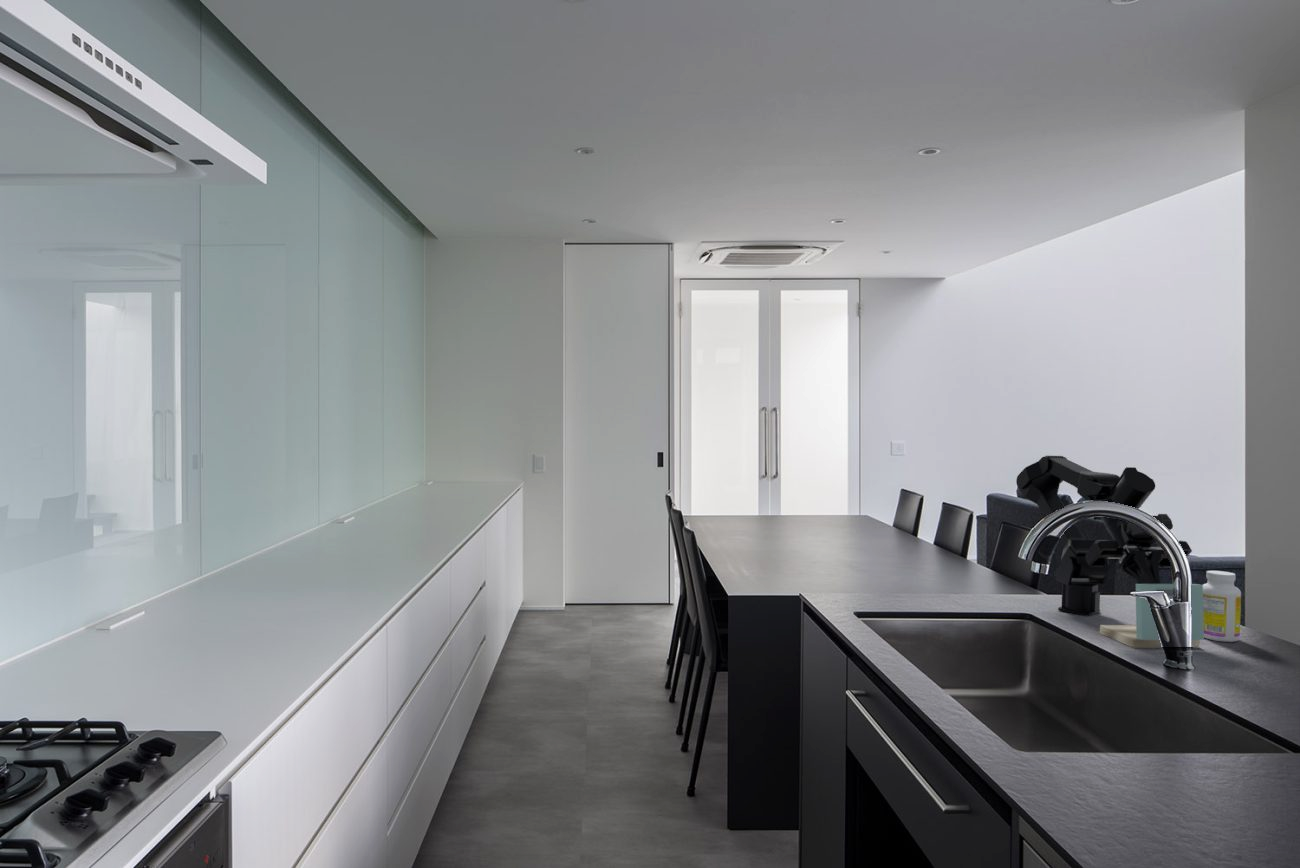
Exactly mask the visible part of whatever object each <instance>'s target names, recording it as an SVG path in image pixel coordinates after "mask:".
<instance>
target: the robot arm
mask: <svg viewBox="0 0 1300 868" xmlns="http://www.w3.org/2000/svg"><path fill="white" fill-rule="evenodd" d="M1062 482H1065V483H1067V484H1069V485H1070V486H1073V487H1074V488H1076V491H1077V494H1078V495H1079V496H1080V497H1081V498H1083V500H1085V501H1086V500H1093V501H1092V502H1096V501H1108V502H1115V503H1120V504H1124V505H1128V506H1132V507H1135V508H1137V510H1139V509H1140V508H1141V507H1142V506H1143V504H1144V503H1145V501H1146V500H1147V499H1148V498H1149V496H1150V495H1151V494H1152V493H1153V492H1154V491H1155V489H1156V483H1155V480H1154V479H1153V478H1151V477H1150V476H1148V475H1147V474H1145V473H1143V472H1141V471H1138V469H1137V467H1129V466H1126V467H1125V468H1124V469H1123V471H1122V473H1121V475H1120V476H1119V475H1117V474H1114V473H1108V472H1099V471H1093V470H1091V469H1088V468H1086V467H1085V466H1082V465H1081V464H1077V463H1076V462H1073V461H1072V460H1069V459H1068V458H1067V457H1066V456H1063V455H1045V456H1042V457H1041V458H1040V459H1039V460H1038V461H1035V462H1034V463H1032V464H1030V465H1027V466H1026V467H1024V469H1022V470H1021V472H1020V473H1019V474H1018V475H1016V486H1017V488H1018V490H1019V492H1020V493H1021V495H1023V497H1024V498H1025V499H1027V500H1028V501H1030V502H1032V503H1034V504H1035V505H1037V507H1038V508H1039V511H1040V512H1041V513H1042V515H1043V517H1044V518H1045V517H1046V516H1047V515H1049V514H1051V513H1053V512H1055V511H1056V510H1059V509H1062V508H1064V507H1065V508H1066V505H1064V502H1063V501H1062V500H1061V498H1060V496H1059V494H1058V493H1059V489H1060V484H1061V483H1062ZM1152 516H1153V517H1155V518H1156V519H1157V520H1159V521H1160V522H1161V523H1163V524H1164V525H1165V526H1166V527H1167V528H1168V529H1169V531H1171V530H1172V529H1173V527H1174V525H1173V521H1172V519H1171V518H1170V516H1169V515H1168V514H1167V513H1158V514H1157V515H1152ZM1092 519H1093V520H1094V521H1102V523H1103V525H1104V526H1105V529H1106V530H1107V533H1108V534H1107V535H1106V536H1105V539H1086V538H1085V537H1084V535H1083V534H1082V531H1080V529H1079V528H1078V526H1077V524H1076V523H1075V524H1074V525H1072V526H1071V527H1070V528H1068V529H1067V530H1066V531H1065V532H1064V534H1063V535H1062V536H1061V538H1060V539H1059V541H1058V543H1059V545H1060V546H1061V548H1062V553H1061V556H1060V557H1061V558H1060V561H1061V562H1060V564H1059V565H1058V567H1057V568H1056V569H1055V570H1054V575H1055V576H1054V577H1055V581H1056V582H1058V583H1061V584H1062V585H1061V586H1062V587H1061V588H1062V589H1061V606H1060V607H1057V610H1058V611H1061V612H1068V613H1072V614H1078V615H1084V616H1087V617H1088V616H1092V615H1095V614H1097V613H1100V612H1101V609H1100V608H1101V607H1100V603H1101V592H1100V591H1099V586H1106V582H1107V578H1108V576H1109V572H1110V568H1111V564H1110V561H1109V559H1110V560H1111V559H1114V560H1115V559H1118V561H1119V564H1118V565H1117V568H1116V569H1117V570H1118V571H1122V572H1124V573H1126V574H1127V575H1128V576H1131V577H1132V578H1134V579H1135V580H1137V581H1139V582H1140V584H1161V579H1160V578H1161V577H1160V567H1161V568H1165V569H1166V568H1168V569H1169V568H1170V569H1172V568H1171V565H1170V562H1169V560H1168V558H1167V556H1166V555H1165V553H1164V551H1163V549H1162V548H1161V546H1152V544H1155V543H1156V542H1157V540H1158V539H1157V538H1156V539H1157V540H1156V539H1155V538H1153V537H1152V536H1150V535H1149V534H1147V533H1145V532H1144V531H1143V530H1141V529H1140V528H1139V527H1137V526H1136V525H1134V524H1132V523H1129V522H1126V521H1123V520H1119V519H1113V518H1107V517H1094V518H1093V517H1092ZM1178 541H1179V543H1180V544H1181V546H1182V548H1183V550H1184V552H1185V554H1186V556H1187V557H1188V556H1189V555H1190V554H1191V553H1192V552H1193V549H1192V548H1191V546H1190V545H1189V544H1188V542H1187V541H1185V540H1178Z"/></svg>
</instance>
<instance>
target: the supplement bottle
mask: <svg viewBox="0 0 1300 868" xmlns="http://www.w3.org/2000/svg"><path fill="white" fill-rule="evenodd" d="M1205 577H1206V579H1207V580H1206V581H1207V582H1206V583H1203V584H1202V585H1203V622H1204V639H1207V640H1211V641H1215V642H1223V643H1233V642H1234V643H1236V642H1237V641H1239V640H1240V638H1241V637H1240V636H1241V614H1242V613H1241V612H1242V611H1241V607H1242V600H1241V599H1242V592H1241V590H1240V588H1238V587H1237V586H1235V582H1236V579H1237V578H1236V573H1234V572H1230V571H1223V570H1206V575H1205Z"/></svg>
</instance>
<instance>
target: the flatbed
mask: <svg viewBox="0 0 1300 868" xmlns="http://www.w3.org/2000/svg"><path fill="white" fill-rule="evenodd" d="M1099 634H1100V635H1103V636H1106V637H1108V638H1110V639H1112V640H1114V641H1117V642H1120V643H1121V644H1124V645H1126V646H1128V647H1131V648H1134V649H1136V648H1137V649H1139V648H1141V649H1143V648H1147V649H1149V648H1151V649H1155V648H1157V649H1159V648H1161V643H1160V640H1141V639H1137V631H1136V624H1100V625H1099ZM1200 641H1201V640H1192V646H1193V648H1198V649H1199V648H1200ZM1193 648H1192V649H1193ZM1161 649H1162V648H1161Z"/></svg>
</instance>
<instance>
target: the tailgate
mask: <svg viewBox="0 0 1300 868" xmlns="http://www.w3.org/2000/svg"><path fill="white" fill-rule="evenodd" d="M1174 584H1175V583H1160V584H1143V583H1135V593H1136V592H1138V591H1164V592H1165V593H1167V595H1168V596H1169V598H1170V599H1172V598H1173V596H1174V594H1173V588H1174ZM1190 584H1191V607H1192V610H1191V614H1192V640H1200V641H1203V640H1204V639H1205V638H1204V622H1203V584H1198V583H1190ZM1135 617H1136V618H1135V619H1136V620H1135V622H1136V624H1135V625H1136V631H1137V639H1141V640H1159V636H1158V632H1157V628H1156V625H1155V622H1154V619H1153V616H1152V612H1151V608H1150V605H1149V602H1148V601H1147V600H1146V599H1145V598H1140V597H1137V596H1136V595H1135Z"/></svg>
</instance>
